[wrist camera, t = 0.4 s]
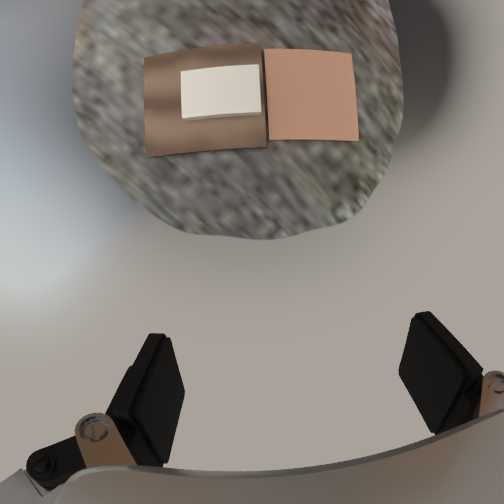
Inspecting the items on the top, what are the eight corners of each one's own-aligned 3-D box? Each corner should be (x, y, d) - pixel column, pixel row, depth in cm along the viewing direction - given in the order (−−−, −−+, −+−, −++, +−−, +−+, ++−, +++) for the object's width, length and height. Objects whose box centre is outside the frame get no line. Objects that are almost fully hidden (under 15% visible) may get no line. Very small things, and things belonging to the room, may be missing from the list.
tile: (185, 76, 30) (180, 71, 28) (258, 70, 30) (258, 64, 27) (186, 120, 32) (181, 118, 29) (260, 115, 32) (261, 111, 29)
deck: (150, 63, 31) (144, 57, 29) (260, 50, 31) (260, 43, 28) (152, 157, 35) (146, 157, 33) (265, 147, 35) (266, 146, 33)
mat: (263, 49, 31) (264, 48, 30) (350, 54, 31) (351, 53, 30) (269, 140, 35) (269, 139, 34) (357, 141, 35) (358, 141, 34)
